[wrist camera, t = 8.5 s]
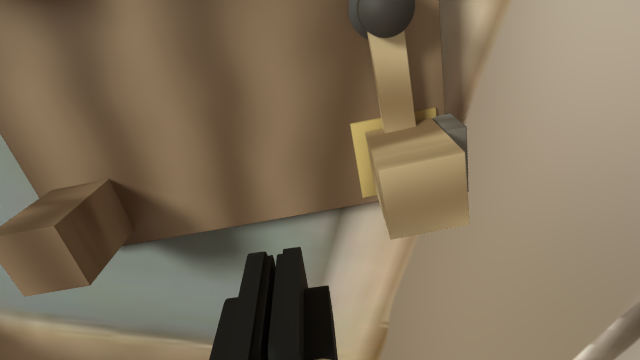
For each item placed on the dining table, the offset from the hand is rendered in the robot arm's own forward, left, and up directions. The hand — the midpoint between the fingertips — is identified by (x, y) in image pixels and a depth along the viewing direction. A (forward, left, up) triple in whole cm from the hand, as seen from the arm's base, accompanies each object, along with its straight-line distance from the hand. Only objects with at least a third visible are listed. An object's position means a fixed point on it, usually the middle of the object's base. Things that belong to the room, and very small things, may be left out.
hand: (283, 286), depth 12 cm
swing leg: (+6, +3, -10) cm, 12 cm away
